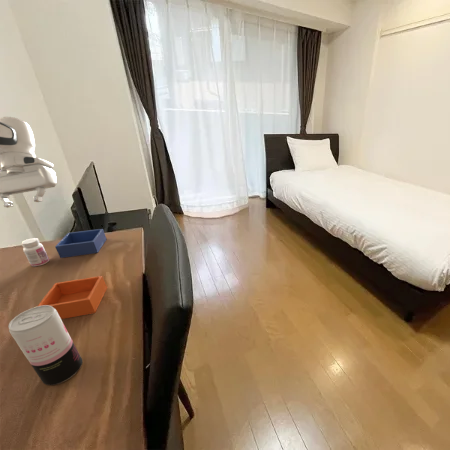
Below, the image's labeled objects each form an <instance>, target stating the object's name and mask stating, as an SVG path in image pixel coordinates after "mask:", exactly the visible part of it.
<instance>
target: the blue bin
mask: <svg viewBox="0 0 450 450" xmlns="http://www.w3.org/2000/svg"><path fill="white" fill-rule="evenodd" d="M106 241H107V236H106V234H105V231H104V229H103V228H98V229H90V230H81V231H73V232H67V233H66V234H65V235H64V236H63V238H62V239H61V240H59V242H57V244H56V245H55V246H54V247H55V250H56V252H57V254H58V256H59V259H62V258H71V257H77V256H85V255H92V254H98V253H99V252H100V250H101V249H102V247H103V246H104V245H105V243H106Z"/></svg>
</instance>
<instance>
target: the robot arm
mask: <svg viewBox="0 0 450 450" xmlns="http://www.w3.org/2000/svg"><path fill="white" fill-rule="evenodd" d="M35 141H36V140H35V136H34V132H33V130H32V128H31V126H30V124H28V122H26V121H24V120H22V119H20V118H17V117H12V116H2V117H0V201H2V203H3V204H2V205H3V207H4V208H7V209H8V208H13V207H14V202H13V201H10V200H9V199H10V196H11V195H18V194H23V193H29V192H35V191H36V193H35V195H34V196H32V199H33V202H35V203H40V202H43V197H44V195H45V194H46V190H47V189H52V188H55V187H56V186H57V184H58V183H57V173H56V171H55V170H54V164H53V163H52V162H50V161H48V160H46V159H43V158H40V157H37V155H36V153H35V150H36V142H35Z"/></svg>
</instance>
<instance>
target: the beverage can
mask: <svg viewBox="0 0 450 450" xmlns="http://www.w3.org/2000/svg"><path fill="white" fill-rule="evenodd" d="M8 333H9V334H10V335H11V337H12V338H13V340H14V342H15V343H16V345H17V346H18V347H19V349H20V350H21V352H22V353H23V355H24V357H25V358H26V359H27V361H28V362H29V364H30V366H31V367H32V368H33V370H34V371H35V373H36V374H37V376H38V378H39V379H40V381H41V382H42V383H43V384H44V385H45V386H55V385H60V384H62V383H64V382H67V381H68V380H70V379H71V378H73V377H74V376H75V375H76V374H77V373H78V371H80V369H81V367H82V365H83V358H82V356H81V354H80V352H79V350H78V349H77V347H76V344H75V343H74V341H73V338H72V337H71V335H70V333H69V332H68V330H67V327H66V326H65V324H64V322H63V319H61V318H60V316H59V314H58V312H57V311H56V309H54V308H53V307H52V306H49V305H43V306H38V305H37V306H35V307H31V308H28V309H26V310H24V311H22V312H20V313H19V314H17V315H16V316H15V317H14V318H12V319H11V320H10V321H9V323H8Z"/></svg>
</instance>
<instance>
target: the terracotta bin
mask: <svg viewBox="0 0 450 450" xmlns="http://www.w3.org/2000/svg"><path fill="white" fill-rule="evenodd" d="M107 290H108V287H107V284H106V282H105V278H104V276H103V275H99V276H97V275H96V276H92V277H85V278H78V279H72V280H65V281H60V282H59V281H58V282H55V283H54V284H53V285H52V287H50V289H49V291H48V292H46V294H45V295H44V297H43V298H42V299H41V301H40V302H39V304H37V306H43V305H49V306H52V307H53V308H54V309H56V311H57V312H58V314H59V316H60V318H61V320H65V319H70V318H75V317H80V316H85V315H91V314H92V315H93V314H96V312H97V311H98V308H99V306H100V304H101V302H102V300H103V298H104V296H105V294H106V292H107Z"/></svg>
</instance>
